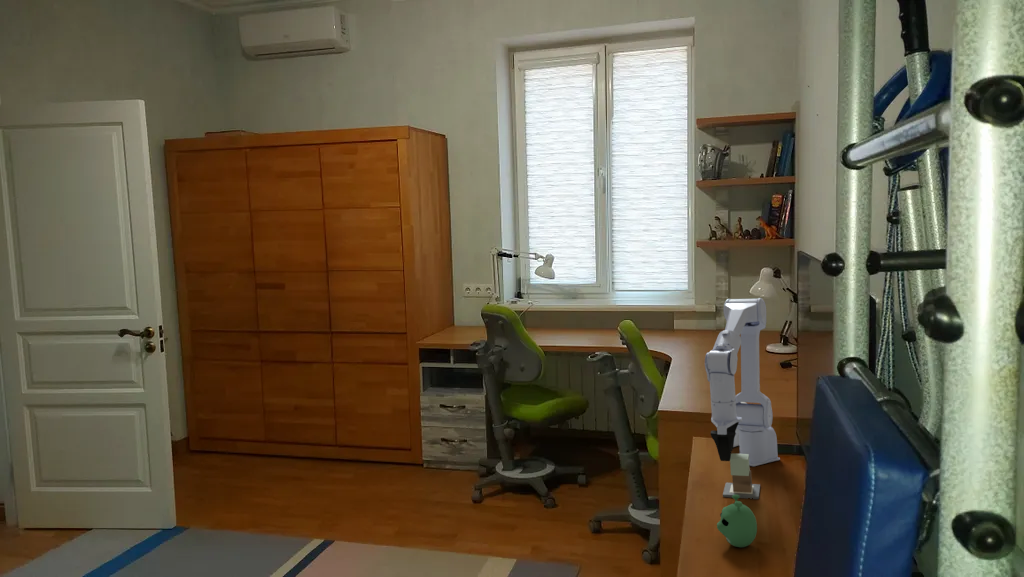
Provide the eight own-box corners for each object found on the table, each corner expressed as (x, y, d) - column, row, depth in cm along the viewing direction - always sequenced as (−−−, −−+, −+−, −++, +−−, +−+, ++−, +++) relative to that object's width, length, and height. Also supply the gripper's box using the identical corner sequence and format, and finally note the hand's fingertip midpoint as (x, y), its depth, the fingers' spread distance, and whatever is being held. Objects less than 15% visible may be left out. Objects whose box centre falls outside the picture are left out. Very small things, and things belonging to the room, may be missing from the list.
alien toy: (716, 538, 144) (713, 491, 143) (755, 538, 142) (752, 490, 142) (720, 553, 137) (716, 504, 136) (761, 553, 136) (758, 503, 135)
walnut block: (734, 485, 170) (733, 469, 169) (752, 486, 168) (751, 470, 168) (733, 491, 166) (732, 475, 166) (750, 492, 164) (750, 476, 164)
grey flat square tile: (726, 484, 172) (725, 482, 172) (760, 486, 169) (760, 483, 169) (722, 496, 165) (722, 494, 165) (758, 499, 162) (758, 496, 162)
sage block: (732, 469, 169) (731, 453, 169) (749, 470, 168) (748, 454, 168) (730, 475, 166) (729, 458, 166) (748, 475, 164) (747, 459, 164)
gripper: (738, 408, 159) (742, 466, 159) (742, 392, 172) (746, 446, 173) (706, 407, 161) (710, 464, 162) (713, 392, 175) (716, 445, 176)
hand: (726, 455), depth 168 cm, fingers open, 7 cm apart
